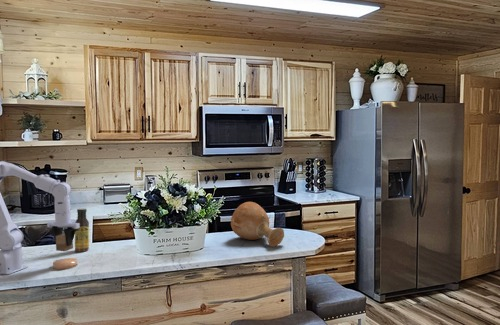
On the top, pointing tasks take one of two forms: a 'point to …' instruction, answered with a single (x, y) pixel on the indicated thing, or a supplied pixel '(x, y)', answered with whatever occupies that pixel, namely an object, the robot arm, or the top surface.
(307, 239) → the top surface
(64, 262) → the tan flattened disc
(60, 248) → the walnut block
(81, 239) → the sauce bottle
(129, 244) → the top surface
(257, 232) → the jug
